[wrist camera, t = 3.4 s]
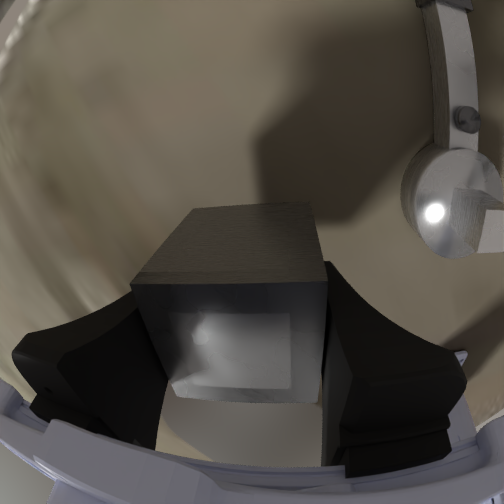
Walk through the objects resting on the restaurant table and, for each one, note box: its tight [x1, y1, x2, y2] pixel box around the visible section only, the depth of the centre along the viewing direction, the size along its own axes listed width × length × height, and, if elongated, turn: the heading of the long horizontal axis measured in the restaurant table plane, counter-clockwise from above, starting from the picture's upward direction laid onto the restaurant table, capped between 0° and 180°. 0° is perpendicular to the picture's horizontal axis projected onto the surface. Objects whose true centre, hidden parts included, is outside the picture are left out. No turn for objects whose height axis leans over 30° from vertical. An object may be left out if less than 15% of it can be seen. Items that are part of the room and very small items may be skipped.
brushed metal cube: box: [130, 202, 328, 403], centre depth 10 cm, size 5×5×6 cm
